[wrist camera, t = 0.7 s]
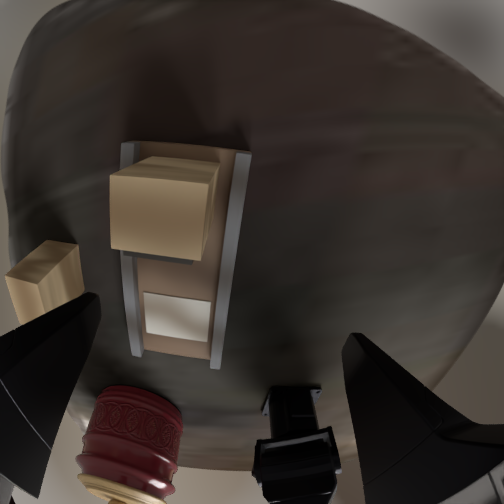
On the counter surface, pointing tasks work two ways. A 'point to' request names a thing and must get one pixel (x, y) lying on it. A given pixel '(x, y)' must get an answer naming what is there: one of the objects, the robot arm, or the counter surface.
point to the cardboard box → (45, 279)
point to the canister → (131, 447)
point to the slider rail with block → (177, 243)
